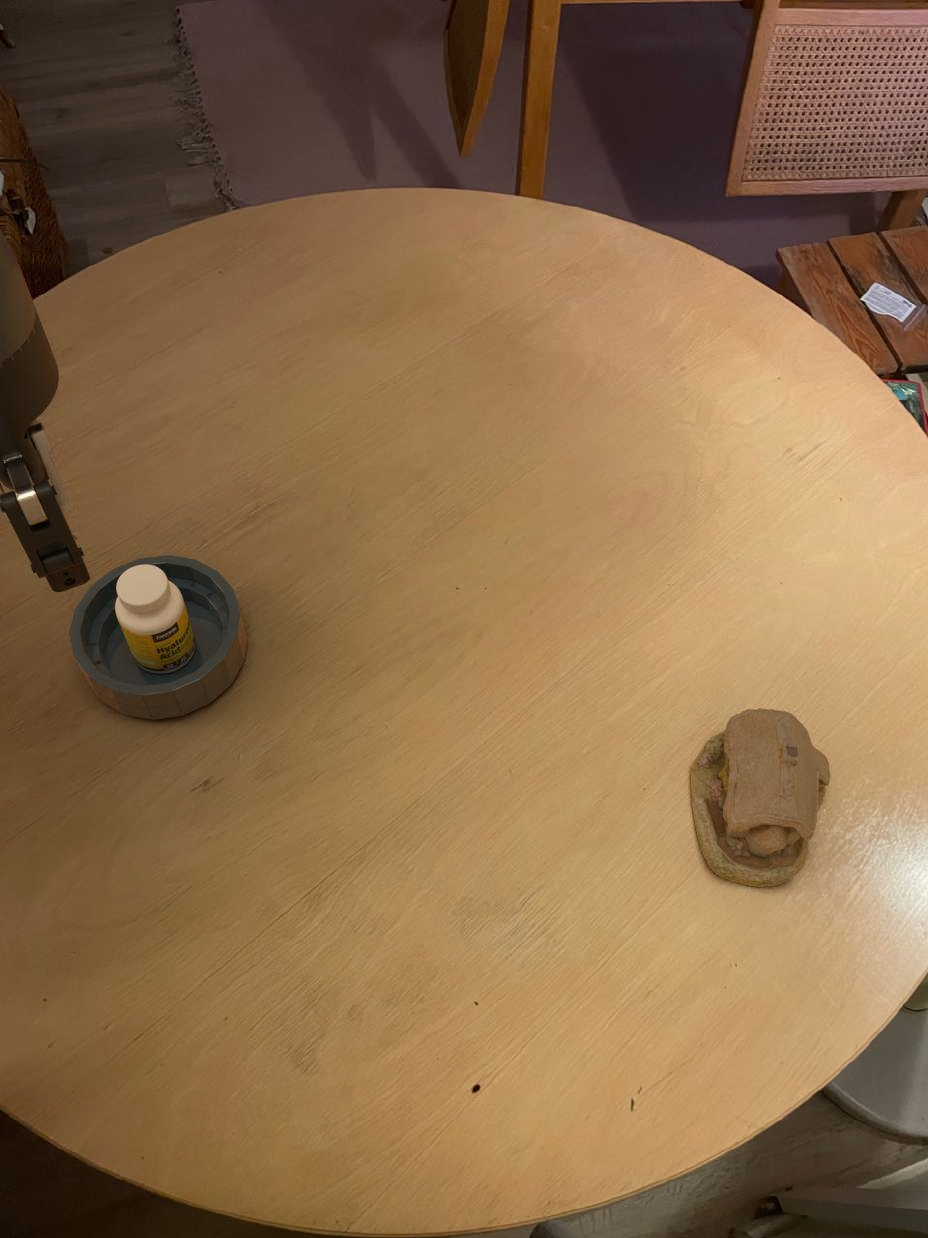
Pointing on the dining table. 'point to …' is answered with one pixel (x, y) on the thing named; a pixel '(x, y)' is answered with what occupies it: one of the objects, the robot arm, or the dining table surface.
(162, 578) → the supplement bottle
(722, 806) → the ceramic model
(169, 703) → the bowl
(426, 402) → the dining table surface
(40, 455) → the robot arm
